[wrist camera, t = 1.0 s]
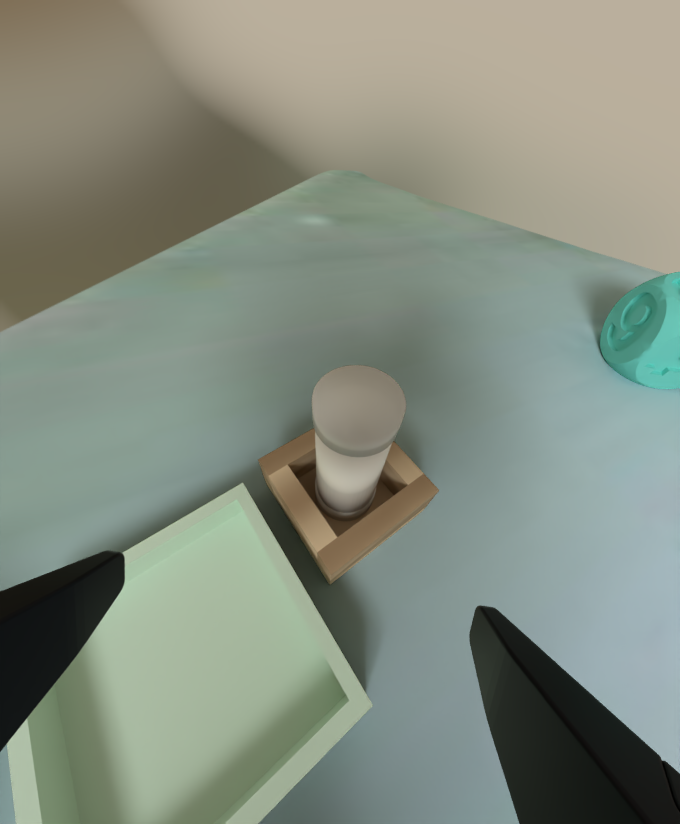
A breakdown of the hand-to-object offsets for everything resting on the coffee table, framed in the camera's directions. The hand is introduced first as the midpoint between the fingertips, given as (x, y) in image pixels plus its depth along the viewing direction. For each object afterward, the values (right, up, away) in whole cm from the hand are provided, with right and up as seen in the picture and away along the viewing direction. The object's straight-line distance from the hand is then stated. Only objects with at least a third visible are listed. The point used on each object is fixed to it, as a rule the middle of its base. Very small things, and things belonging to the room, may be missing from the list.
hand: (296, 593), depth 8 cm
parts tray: (-7, -10, +10) cm, 16 cm away
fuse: (+1, -1, +15) cm, 15 cm away
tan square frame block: (+1, -2, +16) cm, 16 cm away
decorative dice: (+33, +10, +27) cm, 44 cm away
